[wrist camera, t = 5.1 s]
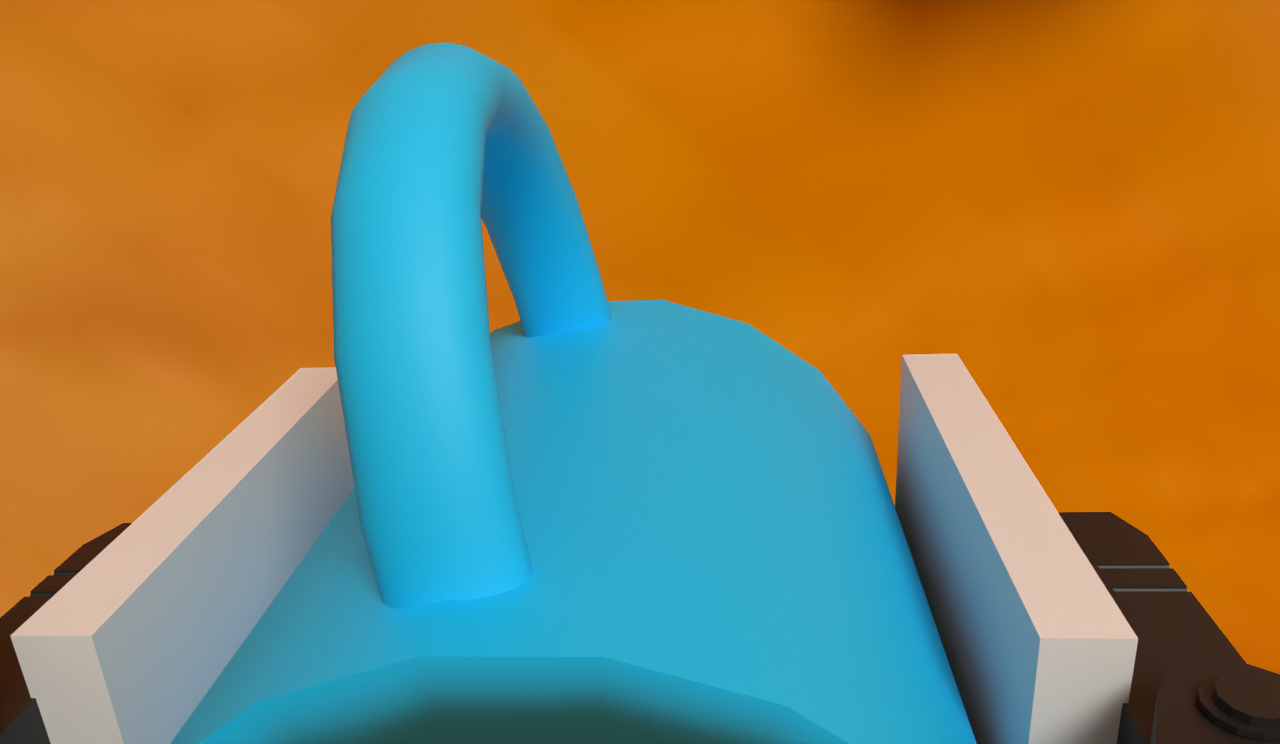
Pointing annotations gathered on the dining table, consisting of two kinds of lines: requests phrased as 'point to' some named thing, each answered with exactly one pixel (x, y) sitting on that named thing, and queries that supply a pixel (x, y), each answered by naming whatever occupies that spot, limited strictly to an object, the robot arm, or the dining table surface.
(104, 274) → the dining table surface
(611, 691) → the mug
